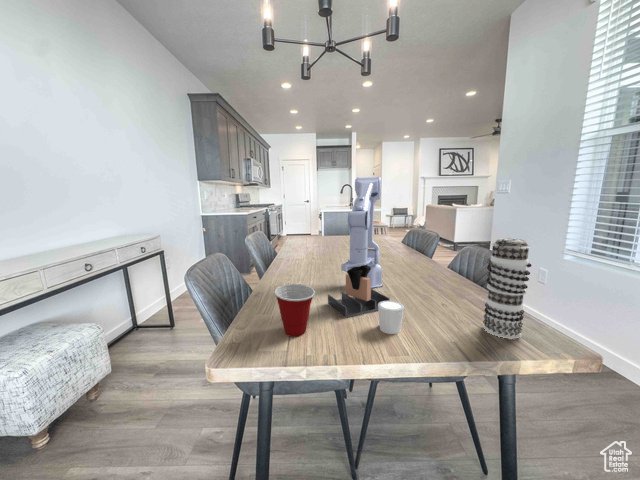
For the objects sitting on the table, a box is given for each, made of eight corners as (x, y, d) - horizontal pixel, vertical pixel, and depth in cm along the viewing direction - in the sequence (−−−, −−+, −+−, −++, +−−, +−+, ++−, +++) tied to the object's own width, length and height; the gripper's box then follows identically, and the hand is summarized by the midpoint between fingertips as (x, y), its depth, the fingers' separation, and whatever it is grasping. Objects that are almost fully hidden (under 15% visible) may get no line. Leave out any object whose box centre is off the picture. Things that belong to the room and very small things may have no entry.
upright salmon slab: (349, 292, 90) (349, 273, 89) (370, 299, 84) (370, 278, 83) (345, 294, 89) (345, 274, 88) (367, 301, 82) (367, 280, 81)
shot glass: (403, 325, 73) (404, 301, 72) (402, 337, 67) (403, 311, 66) (378, 321, 76) (379, 298, 74) (375, 333, 69) (376, 308, 68)
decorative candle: (496, 320, 75) (504, 235, 71) (531, 336, 67) (543, 240, 63) (473, 326, 72) (480, 238, 68) (507, 343, 63) (518, 243, 60)
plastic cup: (300, 347, 63) (299, 300, 61) (267, 335, 69) (265, 292, 67) (323, 328, 72) (322, 287, 70) (292, 319, 78) (291, 281, 76)
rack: (368, 296, 96) (368, 287, 95) (389, 308, 85) (389, 298, 84) (328, 303, 89) (327, 294, 88) (345, 318, 78) (345, 307, 77)
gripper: (362, 243, 91) (362, 280, 93) (334, 249, 82) (334, 290, 84) (379, 246, 86) (378, 285, 88) (351, 252, 77) (350, 295, 79)
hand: (358, 288), depth 86 cm, fingers closed on upright salmon slab, 2 cm apart
